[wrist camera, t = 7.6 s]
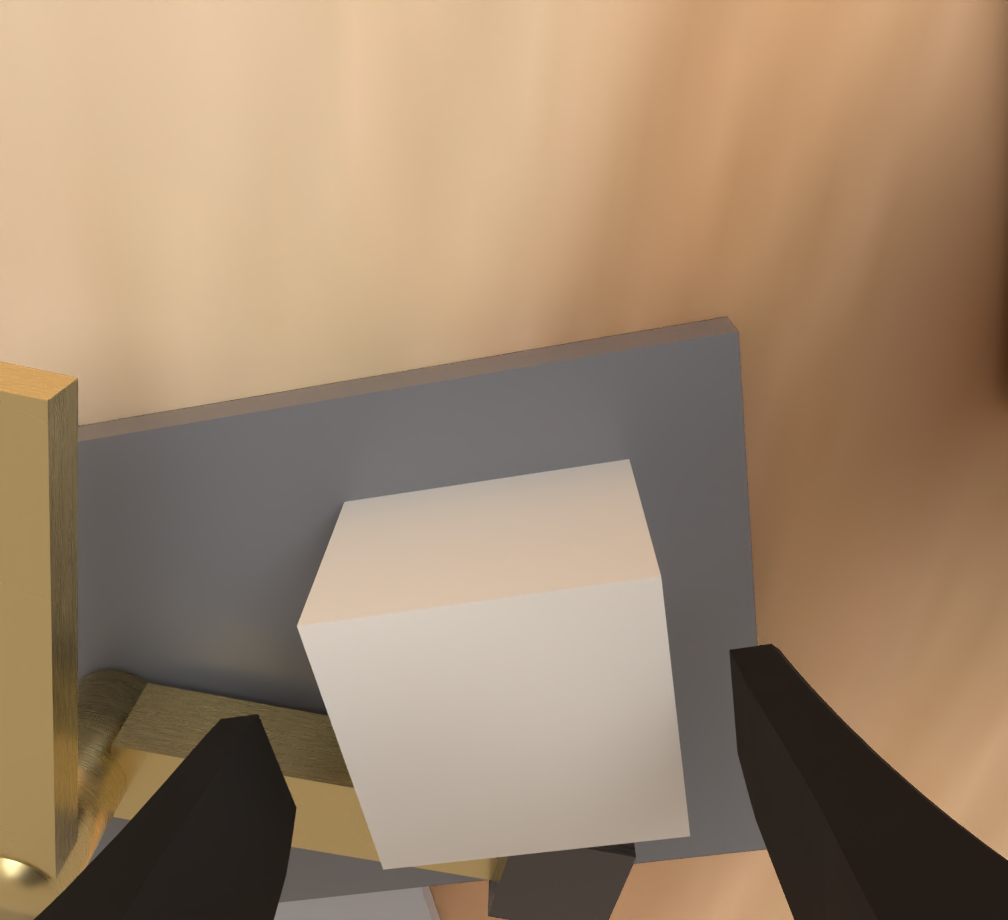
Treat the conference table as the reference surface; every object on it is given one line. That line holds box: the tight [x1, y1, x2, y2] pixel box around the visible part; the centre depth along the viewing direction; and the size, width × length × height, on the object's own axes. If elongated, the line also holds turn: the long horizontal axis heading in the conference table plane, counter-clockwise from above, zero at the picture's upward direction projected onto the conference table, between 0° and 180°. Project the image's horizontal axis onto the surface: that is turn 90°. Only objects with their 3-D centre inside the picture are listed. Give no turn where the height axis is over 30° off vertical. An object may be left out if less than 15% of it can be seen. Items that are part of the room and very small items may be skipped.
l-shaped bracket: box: [0, 362, 636, 920], centre depth 13 cm, size 10×11×4 cm
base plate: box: [78, 317, 767, 903], centre depth 17 cm, size 16×12×1 cm
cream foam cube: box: [297, 459, 690, 870], centre depth 14 cm, size 5×5×4 cm
